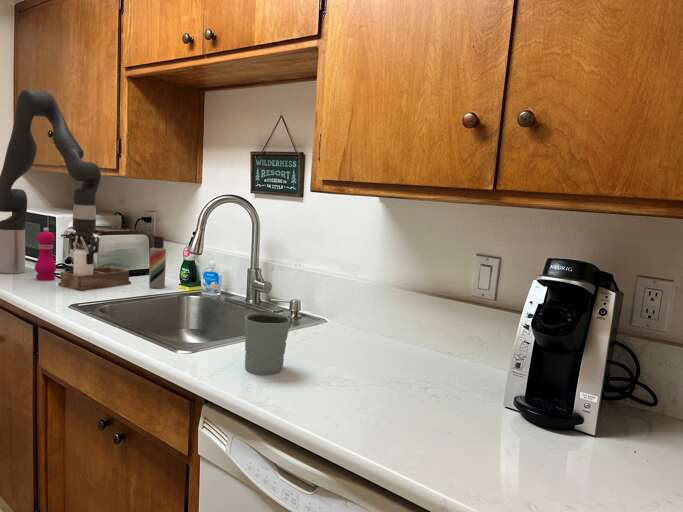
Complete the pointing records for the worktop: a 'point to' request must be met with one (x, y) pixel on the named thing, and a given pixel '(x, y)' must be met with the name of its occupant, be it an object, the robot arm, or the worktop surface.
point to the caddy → (95, 279)
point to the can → (81, 263)
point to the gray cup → (265, 342)
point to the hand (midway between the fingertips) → (83, 262)
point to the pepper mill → (45, 256)
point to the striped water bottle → (157, 263)
